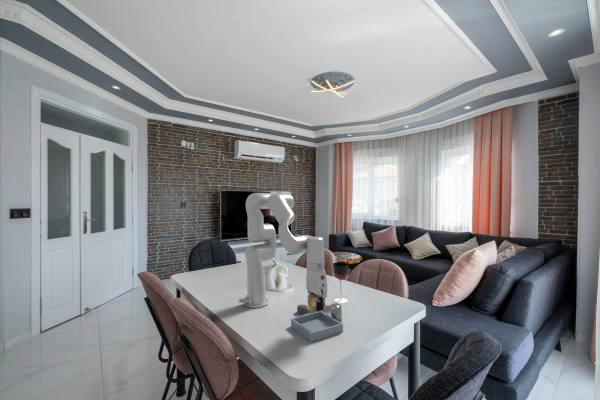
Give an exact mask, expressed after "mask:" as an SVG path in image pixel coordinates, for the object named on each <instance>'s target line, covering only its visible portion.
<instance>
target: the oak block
mask: <svg viewBox="0 0 600 400" xmlns="http://www.w3.org/2000/svg"><path fill="white" fill-rule="evenodd" d="M320 297H321V295H319V298H320ZM316 302H317V296H316V294H312V295H309V294H308V295H307V310H309V311H310V312H311V313H315V312H319V311H317V308H316ZM325 310H326V298H325V299H324V301H323V310H322V312H324V311H325Z"/></svg>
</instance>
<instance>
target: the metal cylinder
mask: <svg viewBox="0 0 600 400" xmlns="http://www.w3.org/2000/svg"><path fill="white" fill-rule="evenodd" d="M342 307H343V306H342V304H341V303H331V304H330V317H332V318H334V319H335V320H337V321H339V322H340V323H342V322H343V319H342V313H343V312H342V310H343V309H342Z"/></svg>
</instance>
